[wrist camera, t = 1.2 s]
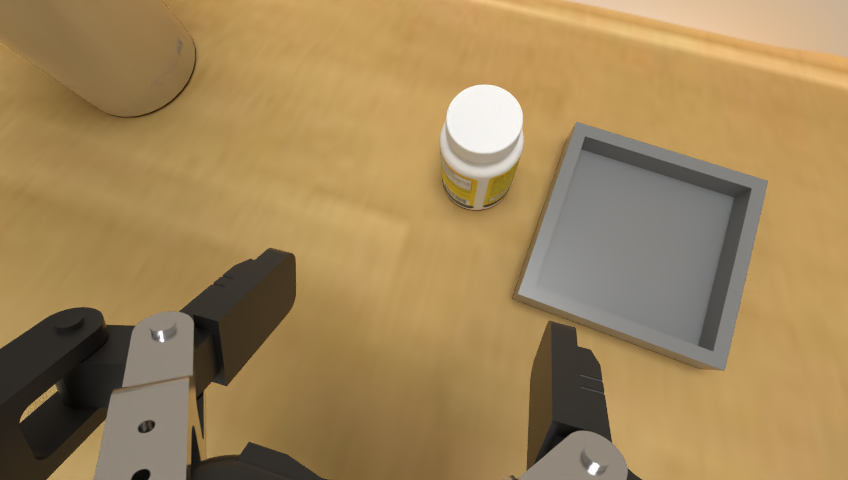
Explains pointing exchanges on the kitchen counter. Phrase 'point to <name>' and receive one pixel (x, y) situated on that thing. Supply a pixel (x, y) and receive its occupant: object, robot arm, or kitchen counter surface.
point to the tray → (644, 246)
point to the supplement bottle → (481, 146)
